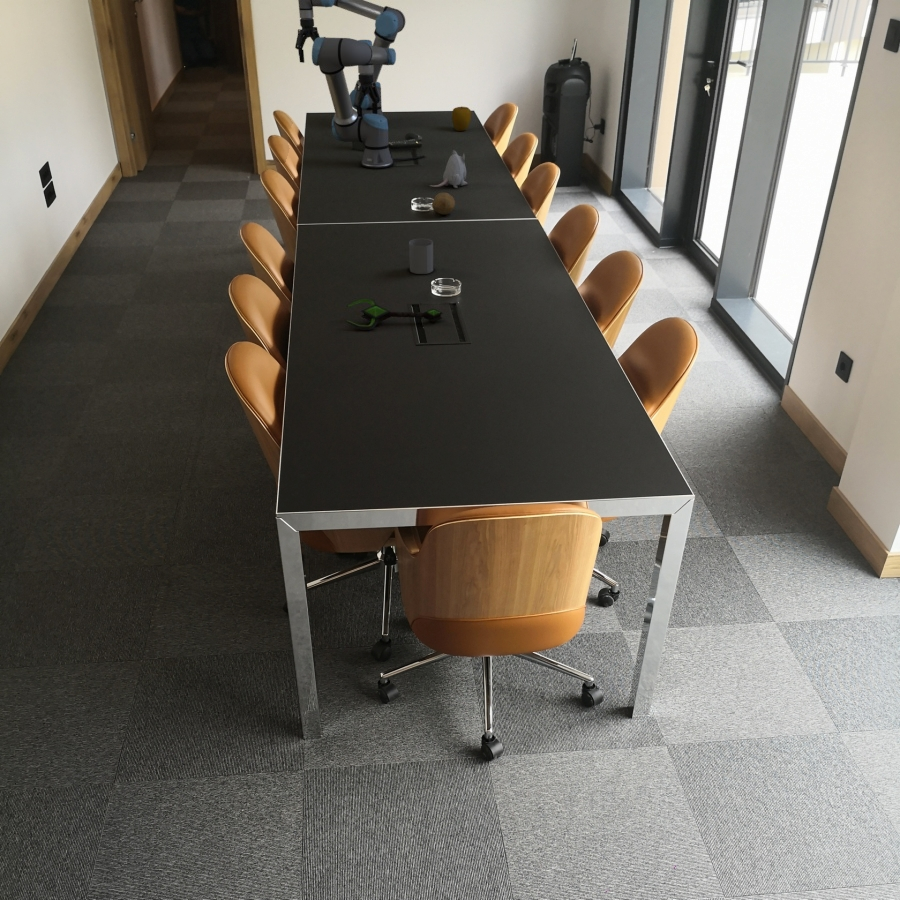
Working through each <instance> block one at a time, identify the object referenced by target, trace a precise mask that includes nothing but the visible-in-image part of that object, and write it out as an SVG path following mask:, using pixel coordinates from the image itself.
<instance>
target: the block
mask: <svg viewBox="0 0 900 900" xmlns="http://www.w3.org/2000/svg"><path fill="white" fill-rule="evenodd" d="M351 144H352V145H351V146H352V150H354V151H360V152H364V151H365V143H363V142H351Z"/></svg>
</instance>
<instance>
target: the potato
mask: <svg viewBox="0 0 900 900" xmlns="http://www.w3.org/2000/svg"><path fill="white" fill-rule="evenodd" d="M455 206H456V200H455V198H454V196H452V195H451V194H449V193H448V192H439V193H437V194H436V195H435V197H434V198H433V200H432V201H431V207H432V209H433V210H434V212H436V213H437V214H439V215H441V216H442V215H449V214H450V213H452V212H453V211H454V209H455Z"/></svg>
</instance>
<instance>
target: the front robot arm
mask: <svg viewBox="0 0 900 900" xmlns="http://www.w3.org/2000/svg"><path fill="white" fill-rule="evenodd" d="M311 61H312V64H313V66H315V67H318V68H319V70H320V73H322V74H323V75H324V76H325V80H326V83H327V87H328V90H329V94H330V98H331V101H332V105H333V108H334V115H333V117H332V120H331V132H332V134H333V137H334V138H335V139H336V140H337V141H339V142H345V143H349V142H350V143H352V142H363V143H365V151H363V155H362V159H361V166H362V167H363V168H366V169H371V170H381V169H387V168H390V167H392V166H394V161H402V162H403V161H411V160H416V159H422V158H425V157H426V156H425V155H418V156H413V157H406V158H392V155H391V152H390V151H391V150H390V147H389V145H390V144H389V124H388V118H387V117H385V115H384V116H382V115H378V111H377V109H378V105H377V103H379V101H380V98H379V94H378V91H377V88H376V83H373V82H374V78H373V74H372V73H373V64H376V65H383V66H394V65H395V64H396V61H397V52H396V50H395V48H392V47H389V48H382V47H376V46H373V42H372V40H370V39H354V38H350V37H326V36H320V37H318V38H316V39H315V41H314V42H313V43H312V48H311ZM347 67H348V68H351V67H357V71H358V72H357V74H358V75H357V77H358V78H357V79H358V80H359V82H360V83H361V85H360V86H357V91H356V95H355V100H354V106H355V107H356V108H357V110H356V109H354V108H353V107H352V103H351V99H350V91H349V88H348V84H347V80H346V76H345V72H344V70H345V68H347ZM366 94H369V95H370V97H371V99H372V101H373V102H374V103H372V114H364V115H363V117H362V107H361V105H362V102H363V100H364V97H365V96H366Z"/></svg>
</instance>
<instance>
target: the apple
mask: <svg viewBox="0 0 900 900" xmlns="http://www.w3.org/2000/svg"><path fill="white" fill-rule="evenodd" d="M451 121H452V125H453V128H454V129H455V131H457V132H463V131H466V130H467V129H468V128H469V126H470V124H471V121H472V111H471V108H469V107H467V106H462V105H461V106H457V107H454V108H452V111H451Z"/></svg>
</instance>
